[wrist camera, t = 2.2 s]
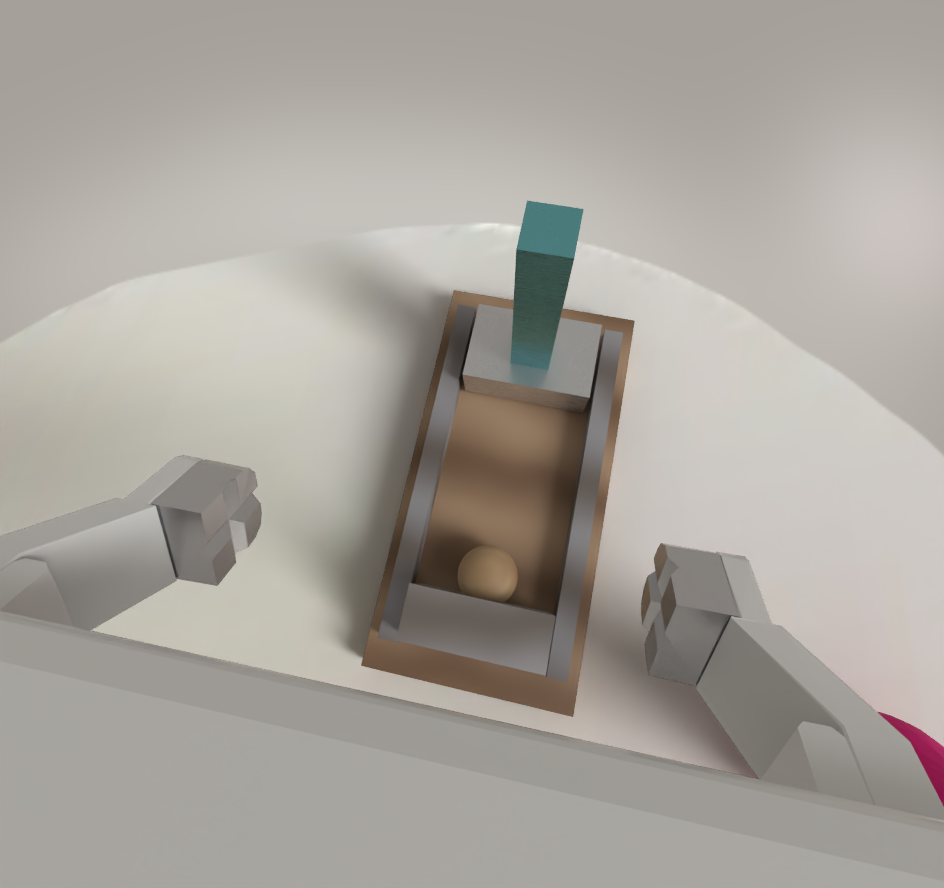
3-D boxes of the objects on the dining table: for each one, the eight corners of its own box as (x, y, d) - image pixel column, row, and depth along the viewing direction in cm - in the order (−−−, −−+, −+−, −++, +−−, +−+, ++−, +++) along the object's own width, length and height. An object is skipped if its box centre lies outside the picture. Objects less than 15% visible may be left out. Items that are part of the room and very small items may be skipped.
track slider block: (582, 412, 36) (638, 297, 22) (465, 391, 37) (444, 265, 23) (594, 345, 38) (654, 192, 23) (480, 325, 38) (469, 166, 24)
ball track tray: (568, 709, 34) (586, 739, 27) (368, 661, 35) (337, 679, 28) (627, 333, 40) (654, 282, 33) (456, 304, 41) (447, 248, 35)
